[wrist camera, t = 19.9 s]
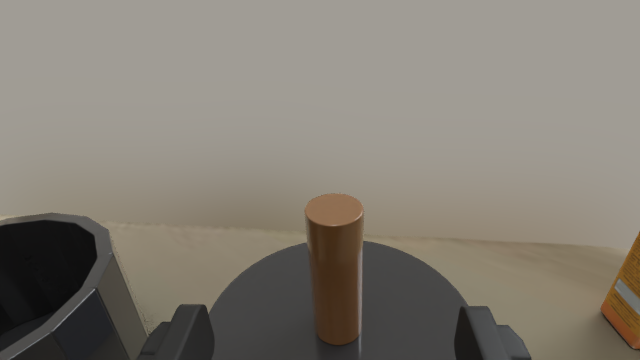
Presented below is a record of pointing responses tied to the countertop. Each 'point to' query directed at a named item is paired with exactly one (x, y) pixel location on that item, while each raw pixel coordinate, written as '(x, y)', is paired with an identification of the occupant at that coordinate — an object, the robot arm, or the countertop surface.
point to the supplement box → (626, 298)
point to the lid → (337, 298)
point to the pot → (65, 292)
